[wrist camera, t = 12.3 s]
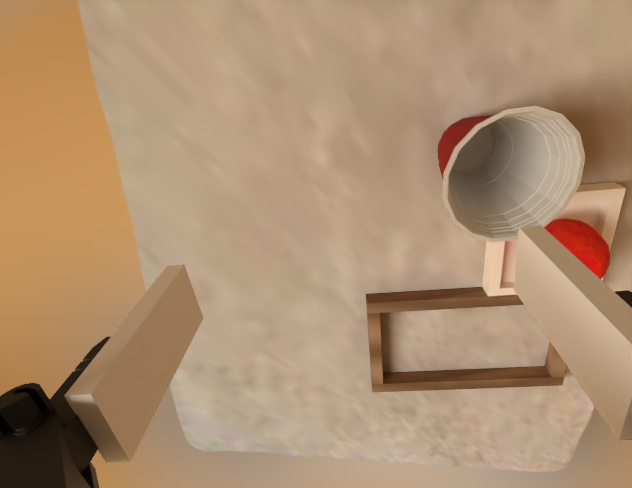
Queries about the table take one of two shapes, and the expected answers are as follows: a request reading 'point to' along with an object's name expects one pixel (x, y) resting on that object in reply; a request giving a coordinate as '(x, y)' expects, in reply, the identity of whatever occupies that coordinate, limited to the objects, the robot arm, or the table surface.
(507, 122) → the plastic cup
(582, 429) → the table surface
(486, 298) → the pocket frame
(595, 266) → the apple
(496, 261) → the dish
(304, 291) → the table surface
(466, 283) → the table surface
